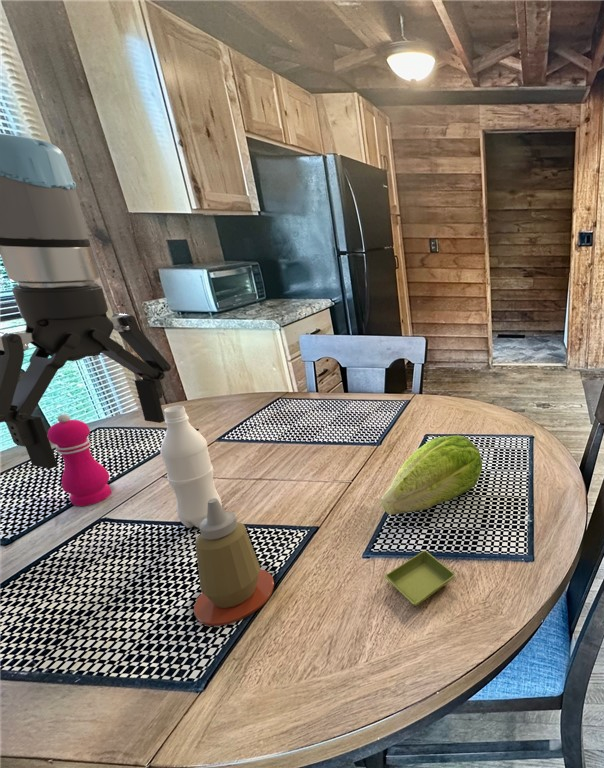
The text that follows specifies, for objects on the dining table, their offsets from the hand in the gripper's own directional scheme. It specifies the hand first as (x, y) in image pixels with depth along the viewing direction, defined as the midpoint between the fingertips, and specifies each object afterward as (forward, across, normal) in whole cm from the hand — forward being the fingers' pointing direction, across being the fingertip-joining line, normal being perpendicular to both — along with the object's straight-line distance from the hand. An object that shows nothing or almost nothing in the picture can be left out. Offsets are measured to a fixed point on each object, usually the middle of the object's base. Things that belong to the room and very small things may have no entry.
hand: (106, 441), depth 57 cm
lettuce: (+28, -36, +33) cm, 57 cm away
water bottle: (+29, -18, -10) cm, 36 cm away
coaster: (+29, -4, +12) cm, 31 cm away
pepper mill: (+30, -19, -39) cm, 53 cm away
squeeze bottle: (+28, -4, +12) cm, 31 cm away
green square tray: (+28, -12, +40) cm, 50 cm away
